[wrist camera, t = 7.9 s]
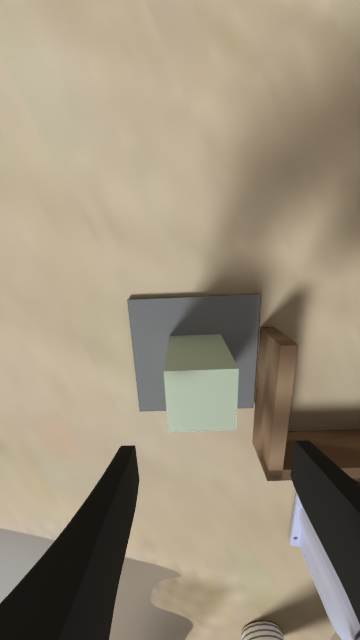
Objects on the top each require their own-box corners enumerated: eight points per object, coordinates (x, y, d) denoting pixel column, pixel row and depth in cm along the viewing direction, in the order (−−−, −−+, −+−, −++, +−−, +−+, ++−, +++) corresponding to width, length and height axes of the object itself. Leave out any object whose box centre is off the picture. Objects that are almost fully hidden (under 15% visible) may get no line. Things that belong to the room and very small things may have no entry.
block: (220, 379, 20) (236, 430, 14) (171, 381, 20) (168, 432, 14) (220, 334, 19) (238, 368, 13) (168, 336, 19) (163, 371, 13)
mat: (252, 405, 21) (253, 407, 21) (140, 408, 21) (139, 411, 21) (259, 294, 18) (260, 294, 18) (128, 299, 18) (127, 299, 18)
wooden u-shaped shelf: (392, 438, 22) (436, 476, 18) (252, 442, 22) (267, 480, 18) (426, 321, 19) (490, 338, 15) (260, 327, 19) (280, 345, 15)
